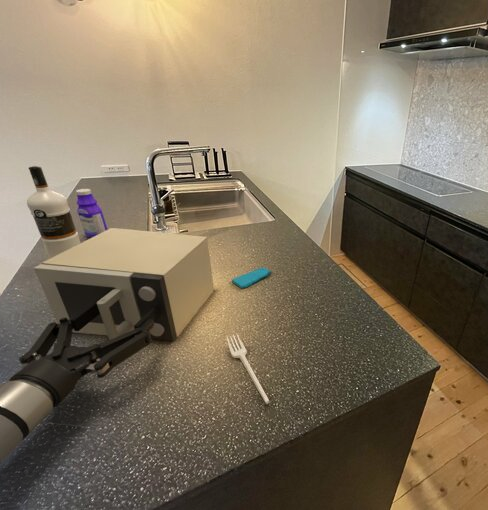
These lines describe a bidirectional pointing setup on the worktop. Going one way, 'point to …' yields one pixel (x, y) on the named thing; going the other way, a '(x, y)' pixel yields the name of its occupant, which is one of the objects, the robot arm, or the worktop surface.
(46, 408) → the robot arm
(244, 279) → the sponge
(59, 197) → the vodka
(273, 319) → the worktop surface
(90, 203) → the bottle
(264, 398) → the fork
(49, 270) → the microwave door
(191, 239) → the microwave
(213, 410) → the worktop surface
